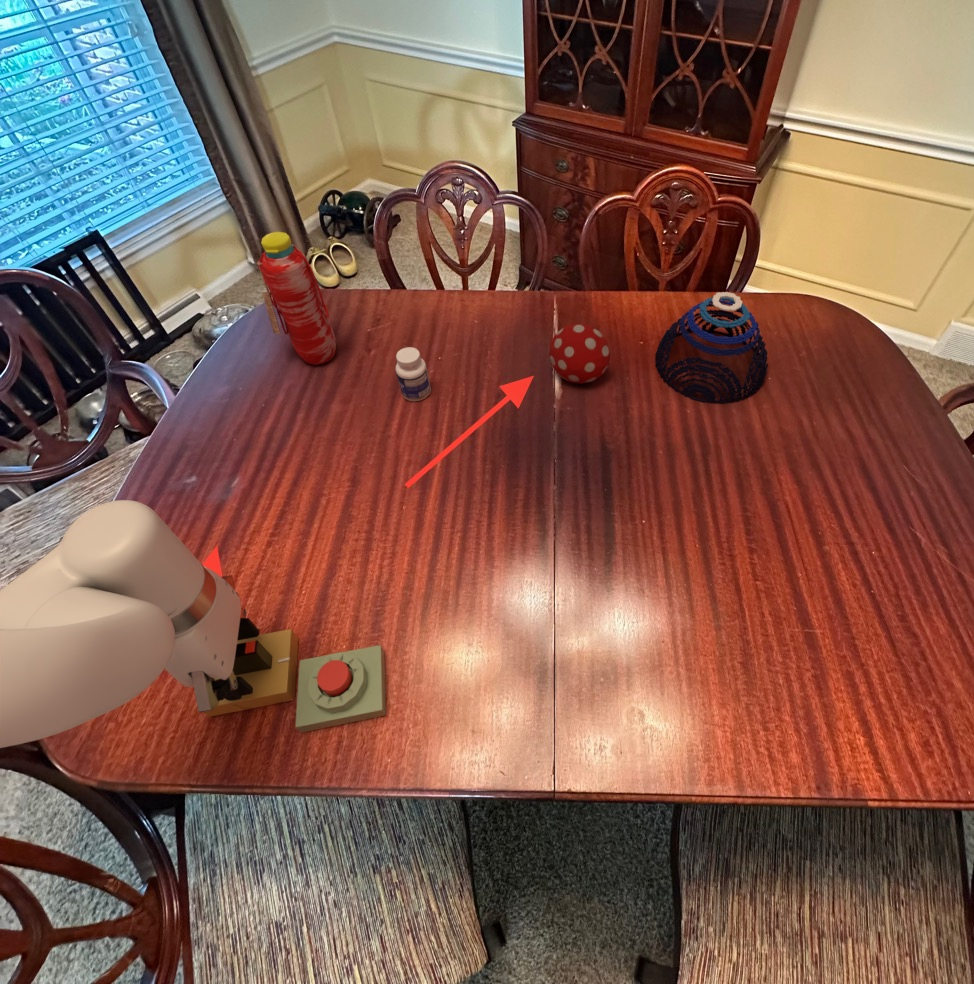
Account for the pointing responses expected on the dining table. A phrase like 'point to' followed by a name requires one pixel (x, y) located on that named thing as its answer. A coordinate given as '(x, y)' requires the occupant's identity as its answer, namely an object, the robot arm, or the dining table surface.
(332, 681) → the release button
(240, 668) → the block
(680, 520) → the dining table surface
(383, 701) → the button block
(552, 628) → the dining table surface
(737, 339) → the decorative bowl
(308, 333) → the water bottle
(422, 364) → the pill bottle
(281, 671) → the plate
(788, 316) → the dining table surface
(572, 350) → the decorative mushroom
